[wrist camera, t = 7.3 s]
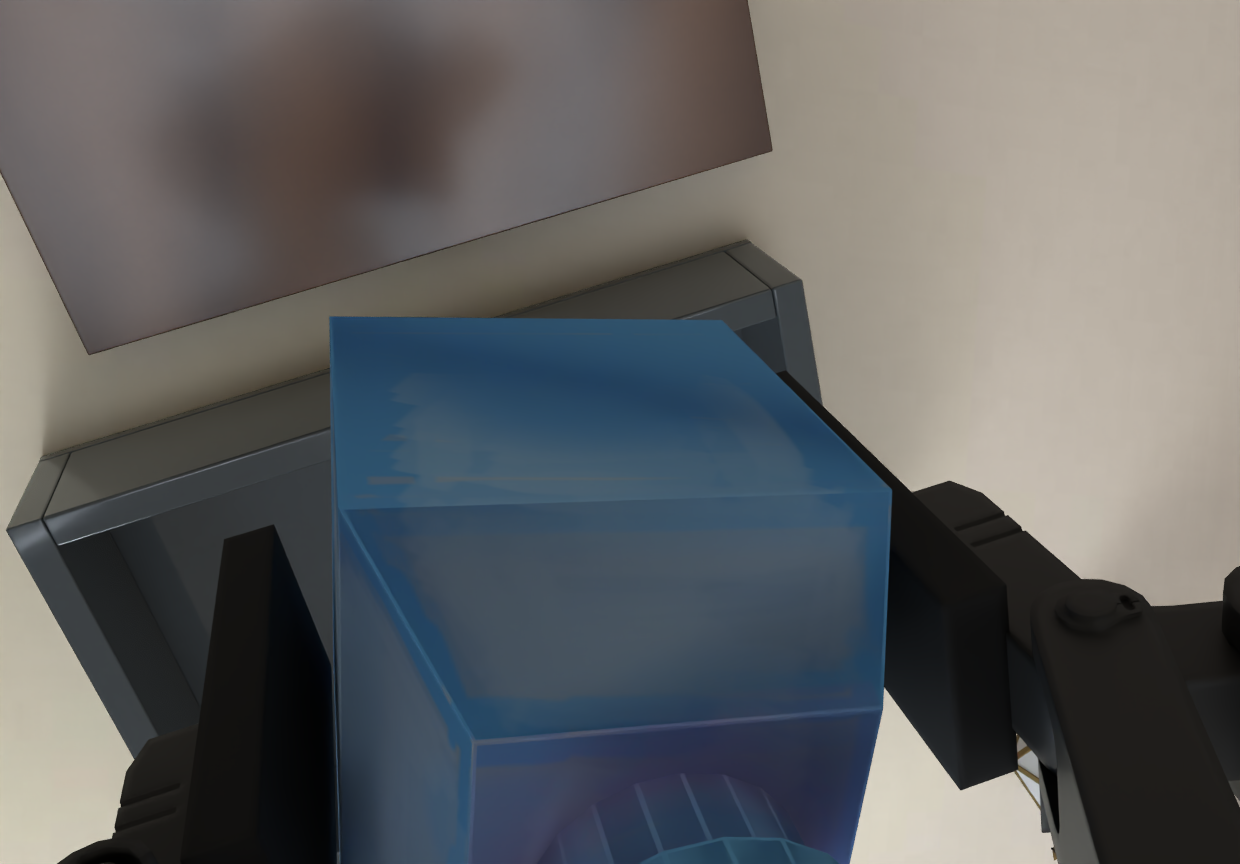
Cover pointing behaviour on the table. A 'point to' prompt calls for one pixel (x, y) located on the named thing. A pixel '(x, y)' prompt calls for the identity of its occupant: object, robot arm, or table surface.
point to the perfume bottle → (596, 598)
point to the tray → (284, 493)
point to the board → (340, 134)
